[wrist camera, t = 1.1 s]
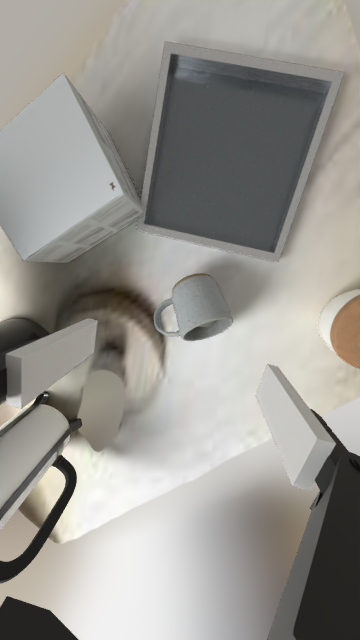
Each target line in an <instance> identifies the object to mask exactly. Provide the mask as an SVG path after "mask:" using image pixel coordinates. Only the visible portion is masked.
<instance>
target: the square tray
mask: <svg viewBox="0 0 360 640" xmlns="http://www.w3.org/2000/svg"><path fill="white" fill-rule="evenodd" d="M343 75H344V72H340V71H334V70H329V69H323V68H317V67H311V66H305V65H299V64H294V63H288V62H282V61H276V60H270V59H264V58H259V57H253V56H247V55H241V54H235V53H229V52H224V51H218V50H212V49H206V48H200V47H195V46H189V45H183V44H177V43H171V42H165V43H164V50H163V56H162V63H161V70H160V76H159V83H158V90H157V96H156V103H155V110H154V116H153V123H152V130H151V136H150V143H149V150H148V156H147V163H146V170H145V176H144V183H143V190H142V196H141V205H142V208H143V210H144V211H143V212H142V213H140V214H139V216H138V223H137V230H138V231H140V232H144V233H148V234H153V235H157V236H162V237H166V238H171V239H175V240H179V241H184V242H188V243H193V244H197V245H201V246H206V247H210V248H215V249H219V250H223V251H228V252H232V253H237V254H241V255H245V256H250V257H254V258H259V259H263V260H267V261H272V262H279V259H280V256H281V253H282V250H283V248H284V245H285V242H286V239H287V236H288V233H289V230H290V227H291V225H292V222H293V219H294V216H295V213H296V210H297V207H298V204H299V201H300V199H301V196H302V193H303V190H304V187H305V184H306V181H307V178H308V176H309V173H310V170H311V167H312V164H313V161H314V158H315V155H316V152H317V150H318V147H319V144H320V141H321V138H322V135H323V132H324V129H325V127H326V124H327V121H328V118H329V115H330V112H331V109H332V106H333V104H334V101H335V98H336V95H337V92H338V89H339V86H340V83H341V80H342V78H343Z"/></svg>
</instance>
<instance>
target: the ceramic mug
mask: <svg viewBox="0 0 360 640" xmlns="http://www.w3.org/2000/svg"><path fill="white" fill-rule="evenodd" d="M171 304H173V305H174V308H175V312H176V317H177V321H178V326H179V331H177V332H166V331H164V330H162V326H161V312H162V311H163V309H165V308H166V307H167V306H169V305H171ZM232 323H233V318H232V315H231V313H230V311H229V309H228V307H227V305H226V302H225V300H224V298H223V296H222V294H221V292H220V289H219V287H218V285H217V283H216V282H215V280H214V279H213V278H212V277H211V276H209V275H207V274H193V275H190V276H187V277H185V278H183V279H181V280H180V281H179V282H178V283H177V284H176V285H175V286H174V288H173V291H172V298H171V299H168V300H165V301H164V302H162V303H161V304H160V305H159V306H158V307H157V309H156V311H155V314H154V324H155V326H156V329H157V330H158V331H159V332H161V333H162V334H164V335H166V336H170V337H176V336H181V338H182V339H183V340H187V341H196V340H202V339H206V338H209V337H212V336H215V335H217V334H219V333H222V332H223V331H225V330H226V329H228V328H229V327H230V326H231V325H232Z"/></svg>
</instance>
